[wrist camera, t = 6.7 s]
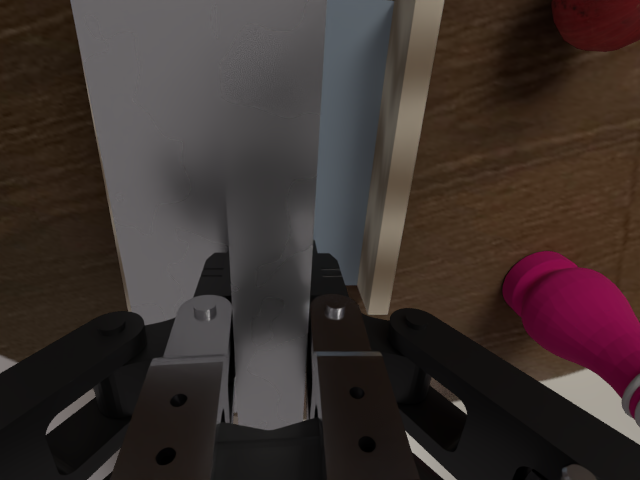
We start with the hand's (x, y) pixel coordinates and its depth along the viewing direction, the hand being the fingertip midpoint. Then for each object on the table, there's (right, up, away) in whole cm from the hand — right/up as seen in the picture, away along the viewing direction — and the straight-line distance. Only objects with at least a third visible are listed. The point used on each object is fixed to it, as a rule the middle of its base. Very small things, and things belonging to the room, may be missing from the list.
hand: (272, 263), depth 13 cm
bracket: (-2, +1, +1) cm, 3 cm away
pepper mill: (+21, -3, +21) cm, 30 cm away
